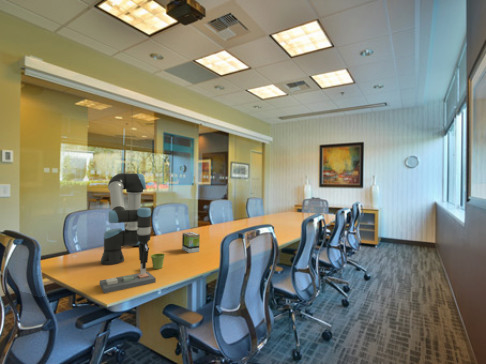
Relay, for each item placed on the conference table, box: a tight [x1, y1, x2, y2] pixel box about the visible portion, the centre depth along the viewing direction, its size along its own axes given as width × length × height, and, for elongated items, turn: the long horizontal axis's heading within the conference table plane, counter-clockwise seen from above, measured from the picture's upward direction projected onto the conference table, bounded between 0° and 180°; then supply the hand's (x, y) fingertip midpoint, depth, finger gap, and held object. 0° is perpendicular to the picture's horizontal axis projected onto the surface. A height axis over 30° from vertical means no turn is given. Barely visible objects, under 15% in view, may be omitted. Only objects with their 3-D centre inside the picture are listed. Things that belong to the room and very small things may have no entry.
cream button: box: [106, 277, 118, 285], centre depth 149 cm, size 5×5×2 cm
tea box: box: [181, 231, 201, 254], centre depth 230 cm, size 15×10×15 cm
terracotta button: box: [138, 273, 149, 279], centre depth 159 cm, size 5×5×2 cm
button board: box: [99, 271, 157, 294], centre depth 154 cm, size 14×27×2 cm, turn 127°
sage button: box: [122, 274, 134, 282], centre depth 154 cm, size 5×5×2 cm
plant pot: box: [150, 253, 166, 270], centre depth 183 cm, size 9×9×9 cm
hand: (143, 273), depth 159 cm, fingers closed
